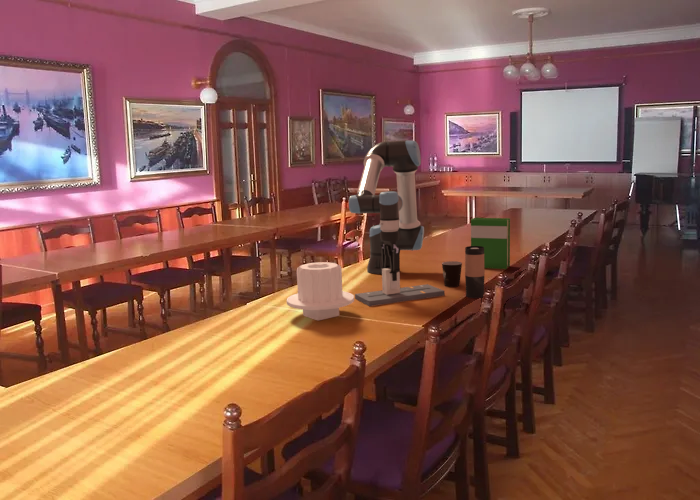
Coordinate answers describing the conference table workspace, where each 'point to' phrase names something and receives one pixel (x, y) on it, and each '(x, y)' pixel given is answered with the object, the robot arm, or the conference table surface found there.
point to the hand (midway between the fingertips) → (391, 287)
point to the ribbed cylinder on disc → (320, 291)
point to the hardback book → (492, 240)
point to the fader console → (399, 295)
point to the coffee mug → (452, 273)
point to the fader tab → (386, 282)
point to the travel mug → (474, 271)
